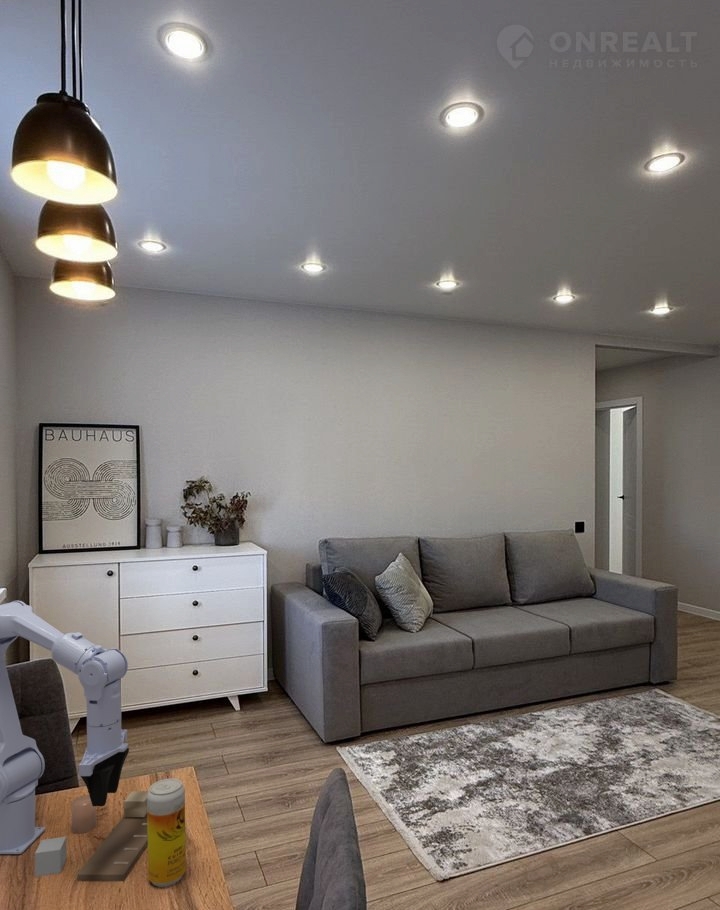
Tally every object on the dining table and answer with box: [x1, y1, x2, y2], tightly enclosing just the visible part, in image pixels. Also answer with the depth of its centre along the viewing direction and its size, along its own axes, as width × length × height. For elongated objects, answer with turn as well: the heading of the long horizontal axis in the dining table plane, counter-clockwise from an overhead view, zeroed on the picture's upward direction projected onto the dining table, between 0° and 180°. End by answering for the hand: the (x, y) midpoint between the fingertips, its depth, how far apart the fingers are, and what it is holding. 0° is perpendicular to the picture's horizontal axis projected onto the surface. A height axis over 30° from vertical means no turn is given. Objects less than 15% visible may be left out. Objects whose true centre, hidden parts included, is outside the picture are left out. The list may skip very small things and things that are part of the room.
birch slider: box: [123, 790, 149, 817], centre depth 121 cm, size 6×4×3 cm
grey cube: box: [34, 836, 67, 878], centre depth 106 cm, size 4×4×4 cm
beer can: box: [147, 777, 187, 888], centre depth 103 cm, size 6×6×15 cm
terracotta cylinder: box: [70, 795, 97, 835], centre depth 118 cm, size 4×4×5 cm
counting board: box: [76, 814, 148, 882], centre depth 113 cm, size 8×22×1 cm, turn 177°
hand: (104, 798), depth 108 cm, fingers open, 4 cm apart
